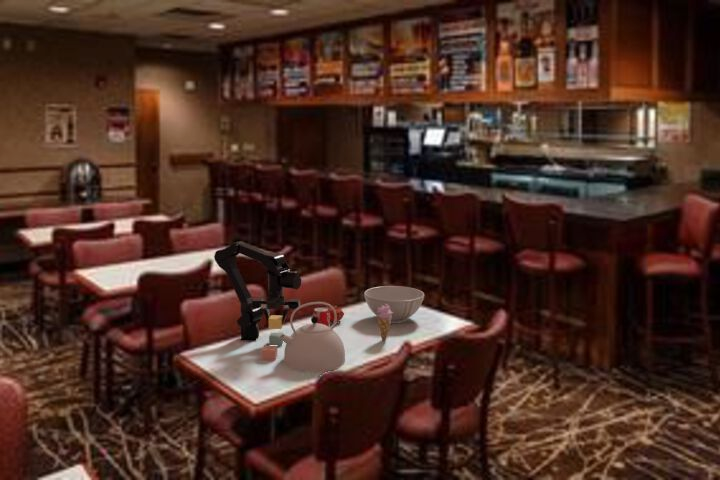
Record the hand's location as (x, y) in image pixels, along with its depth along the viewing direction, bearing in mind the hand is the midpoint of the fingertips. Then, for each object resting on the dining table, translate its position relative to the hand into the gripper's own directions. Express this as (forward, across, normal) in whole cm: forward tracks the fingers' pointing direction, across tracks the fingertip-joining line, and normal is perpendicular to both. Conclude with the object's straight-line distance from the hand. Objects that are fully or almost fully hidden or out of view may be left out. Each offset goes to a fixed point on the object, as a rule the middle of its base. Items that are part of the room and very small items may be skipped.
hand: (276, 324), depth 269 cm
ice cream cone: (+8, +43, +7) cm, 44 cm away
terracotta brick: (+8, 0, -16) cm, 18 cm away
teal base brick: (+8, 0, 0) cm, 8 cm away
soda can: (+8, +17, +9) cm, 21 cm away
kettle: (+8, +16, -18) cm, 26 cm away
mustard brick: (+1, 0, 0) cm, 1 cm away
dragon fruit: (+8, +20, +30) cm, 37 cm away
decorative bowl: (+8, +47, +37) cm, 60 cm away
